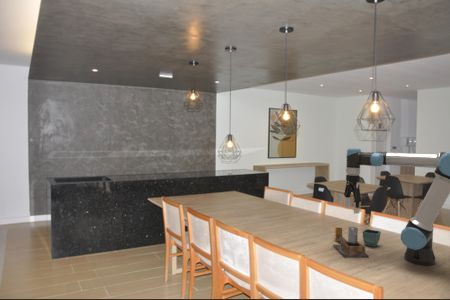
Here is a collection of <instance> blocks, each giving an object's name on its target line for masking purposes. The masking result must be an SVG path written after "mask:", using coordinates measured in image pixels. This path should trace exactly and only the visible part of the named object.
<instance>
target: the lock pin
mask: <svg viewBox="0 0 450 300" xmlns="http://www.w3.org/2000/svg"><path fill="white" fill-rule="evenodd" d="M342 239H344V240H345V241H348V239H346V238H345V237H344V236H343V227H341V226H335V227H334V241H335V242H341V241H342Z"/></svg>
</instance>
